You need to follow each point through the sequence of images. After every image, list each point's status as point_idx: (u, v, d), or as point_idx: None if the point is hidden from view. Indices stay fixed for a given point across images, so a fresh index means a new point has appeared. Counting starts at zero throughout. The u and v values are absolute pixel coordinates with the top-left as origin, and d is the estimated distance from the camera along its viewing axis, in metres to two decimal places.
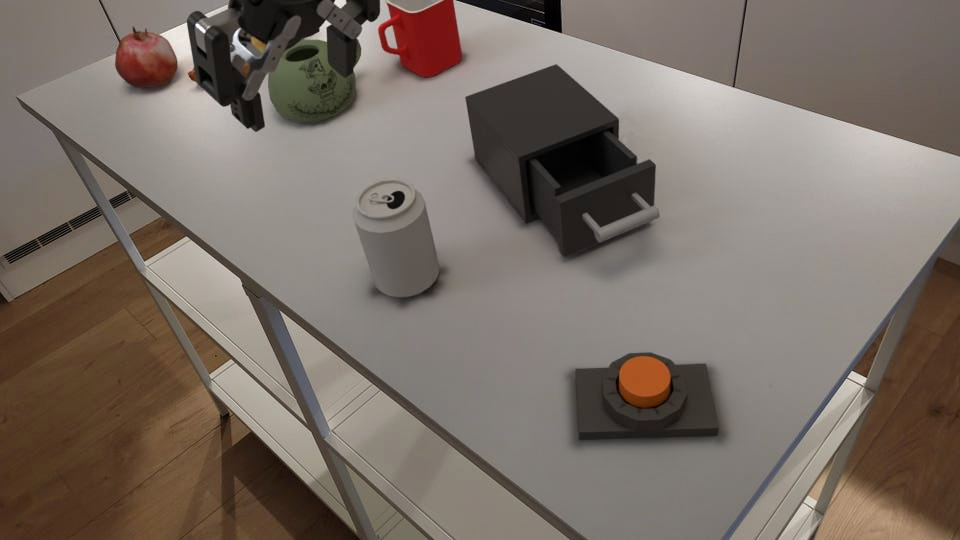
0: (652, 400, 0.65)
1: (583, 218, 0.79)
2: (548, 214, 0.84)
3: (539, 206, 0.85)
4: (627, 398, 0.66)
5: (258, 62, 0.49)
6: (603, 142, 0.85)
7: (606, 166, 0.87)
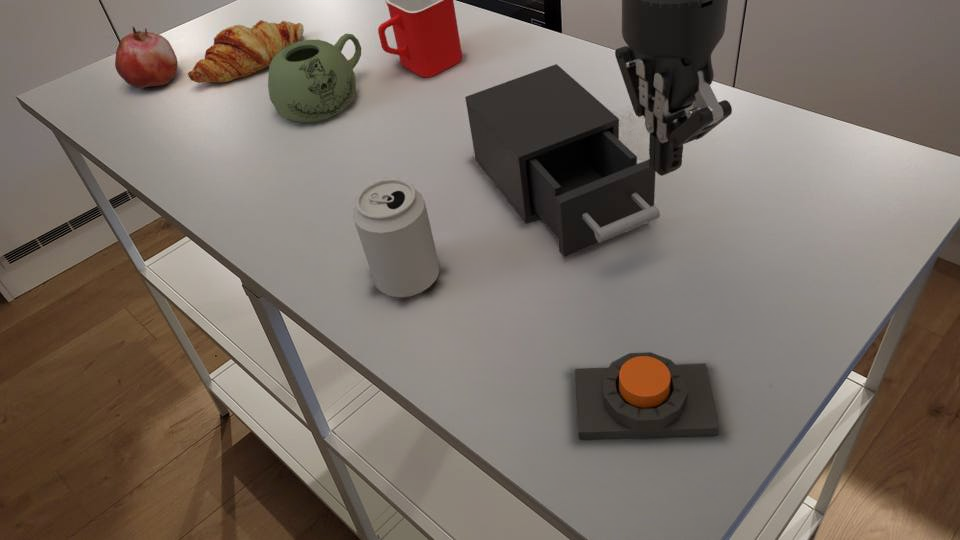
0: (652, 400, 0.65)
1: (583, 218, 0.79)
2: (548, 214, 0.84)
3: (539, 206, 0.85)
4: (627, 398, 0.66)
5: None
6: (603, 142, 0.85)
7: (606, 166, 0.87)
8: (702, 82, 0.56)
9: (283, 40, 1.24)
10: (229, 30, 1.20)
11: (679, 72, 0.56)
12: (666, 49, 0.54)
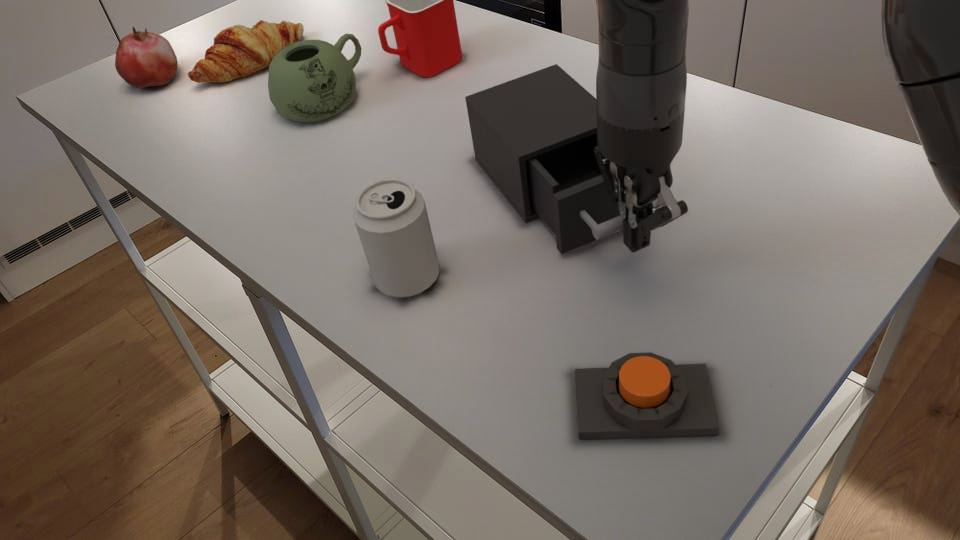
0: (652, 400, 0.65)
1: (581, 215, 0.80)
2: (546, 211, 0.84)
3: (537, 204, 0.86)
4: (627, 398, 0.66)
5: None
6: None
7: None
8: (663, 186, 0.67)
9: (283, 40, 1.24)
10: (229, 30, 1.20)
11: (644, 177, 0.68)
12: (632, 161, 0.66)
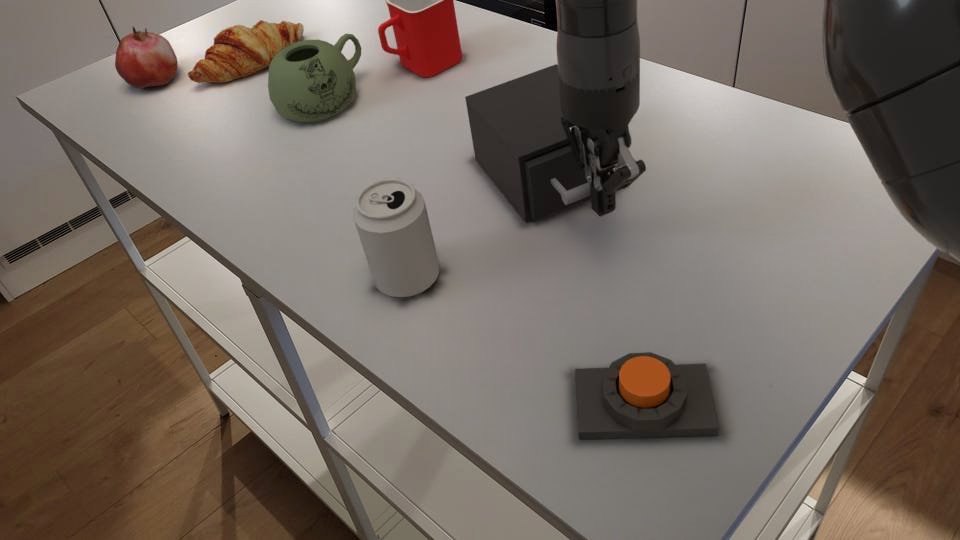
0: (652, 400, 0.65)
1: (551, 183, 0.84)
2: None
3: None
4: (627, 398, 0.66)
5: None
6: None
7: None
8: (622, 146, 0.72)
9: (283, 40, 1.24)
10: (229, 30, 1.20)
11: (605, 138, 0.72)
12: (592, 122, 0.70)
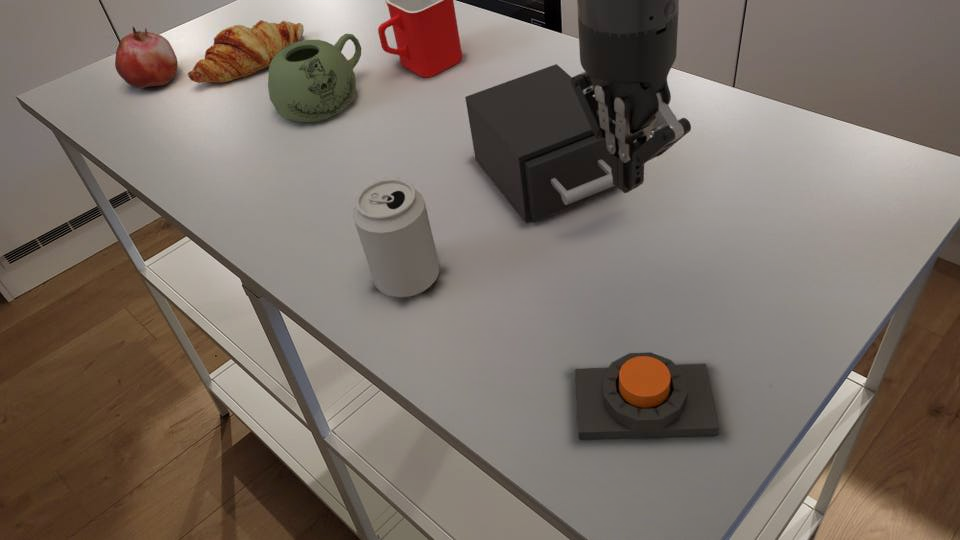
0: (652, 400, 0.65)
1: (551, 183, 0.84)
2: None
3: None
4: (627, 398, 0.66)
5: None
6: None
7: None
8: (661, 103, 0.59)
9: (283, 40, 1.24)
10: (229, 30, 1.20)
11: (639, 95, 0.59)
12: (626, 75, 0.57)
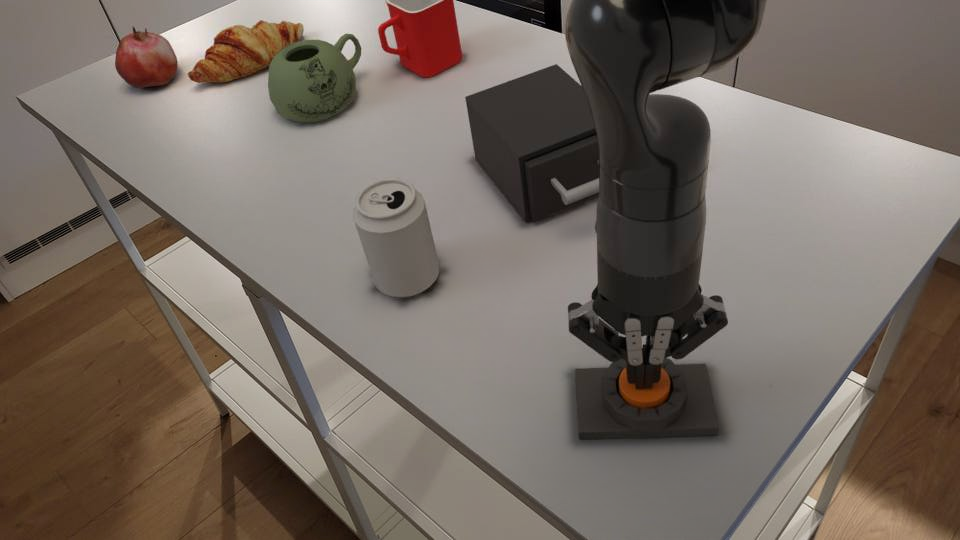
0: (652, 405, 0.65)
1: (551, 183, 0.84)
2: None
3: None
4: (627, 403, 0.66)
5: (626, 344, 0.61)
6: None
7: None
8: None
9: (283, 40, 1.24)
10: (229, 30, 1.20)
11: None
12: (691, 295, 0.55)
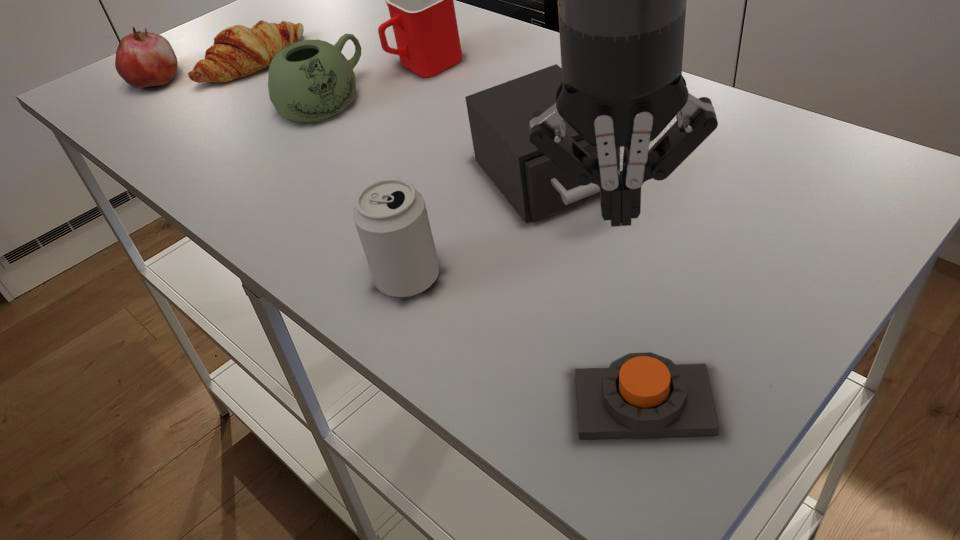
0: (652, 400, 0.65)
1: (551, 183, 0.84)
2: None
3: None
4: (627, 398, 0.66)
5: None
6: None
7: None
8: None
9: (283, 40, 1.24)
10: (229, 30, 1.20)
11: (664, 96, 0.48)
12: (671, 73, 0.45)
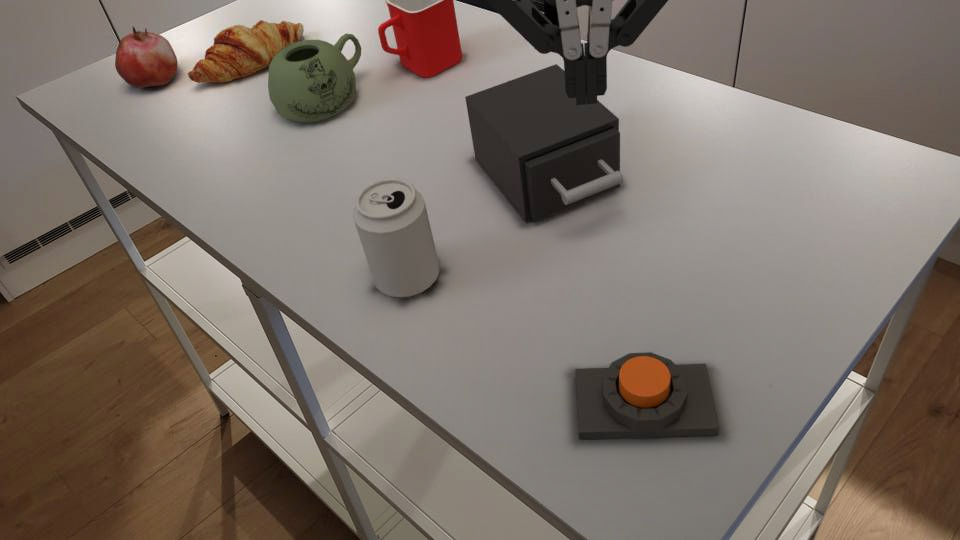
0: (652, 400, 0.65)
1: (551, 183, 0.84)
2: None
3: None
4: (627, 398, 0.66)
5: None
6: None
7: None
8: None
9: (283, 40, 1.24)
10: (229, 30, 1.20)
11: None
12: None
